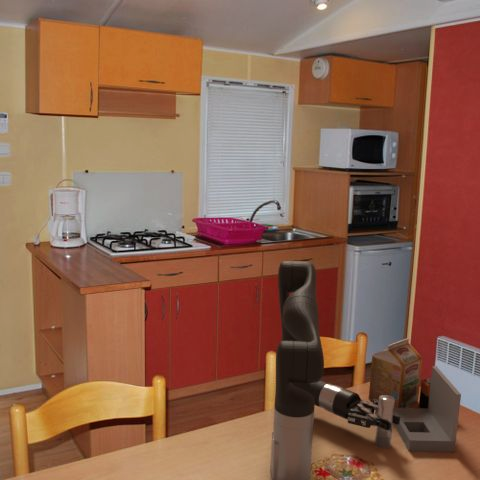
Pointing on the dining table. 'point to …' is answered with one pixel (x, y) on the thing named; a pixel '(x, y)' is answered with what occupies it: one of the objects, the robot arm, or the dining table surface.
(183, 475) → the dining table surface
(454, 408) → the grey l-shaped stand
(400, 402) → the milk carton
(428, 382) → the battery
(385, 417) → the rod
